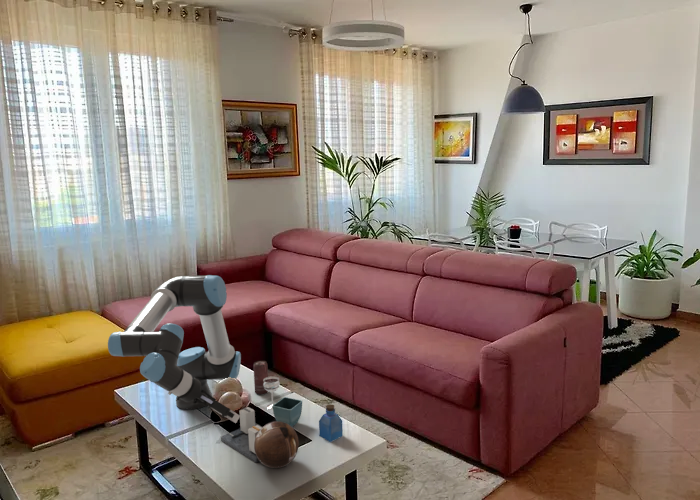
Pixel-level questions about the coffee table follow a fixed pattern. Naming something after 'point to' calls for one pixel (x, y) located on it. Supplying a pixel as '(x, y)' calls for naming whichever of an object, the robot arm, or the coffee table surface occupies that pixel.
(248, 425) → the block
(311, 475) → the coffee table surface
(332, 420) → the perfume bottle
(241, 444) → the plate
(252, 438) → the front fader
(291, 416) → the flower pot
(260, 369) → the can
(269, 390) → the wineglass
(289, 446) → the wooden sphere
